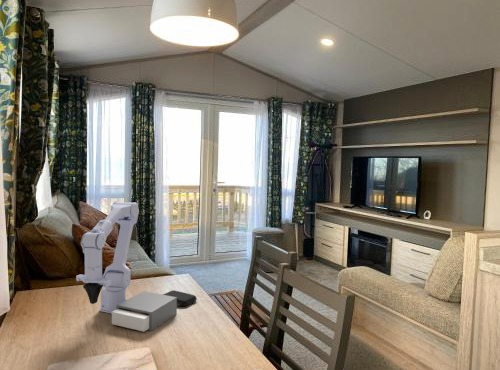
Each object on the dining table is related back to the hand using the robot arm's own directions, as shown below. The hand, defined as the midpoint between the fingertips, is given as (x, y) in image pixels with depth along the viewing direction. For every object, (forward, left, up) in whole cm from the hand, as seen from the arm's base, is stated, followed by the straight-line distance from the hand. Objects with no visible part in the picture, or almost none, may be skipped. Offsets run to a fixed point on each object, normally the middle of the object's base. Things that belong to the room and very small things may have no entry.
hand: (93, 302), depth 136 cm
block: (+12, +11, -8) cm, 18 cm away
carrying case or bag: (+13, +34, -10) cm, 38 cm away
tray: (+12, +10, -9) cm, 18 cm away
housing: (+12, +15, -9) cm, 21 cm away
